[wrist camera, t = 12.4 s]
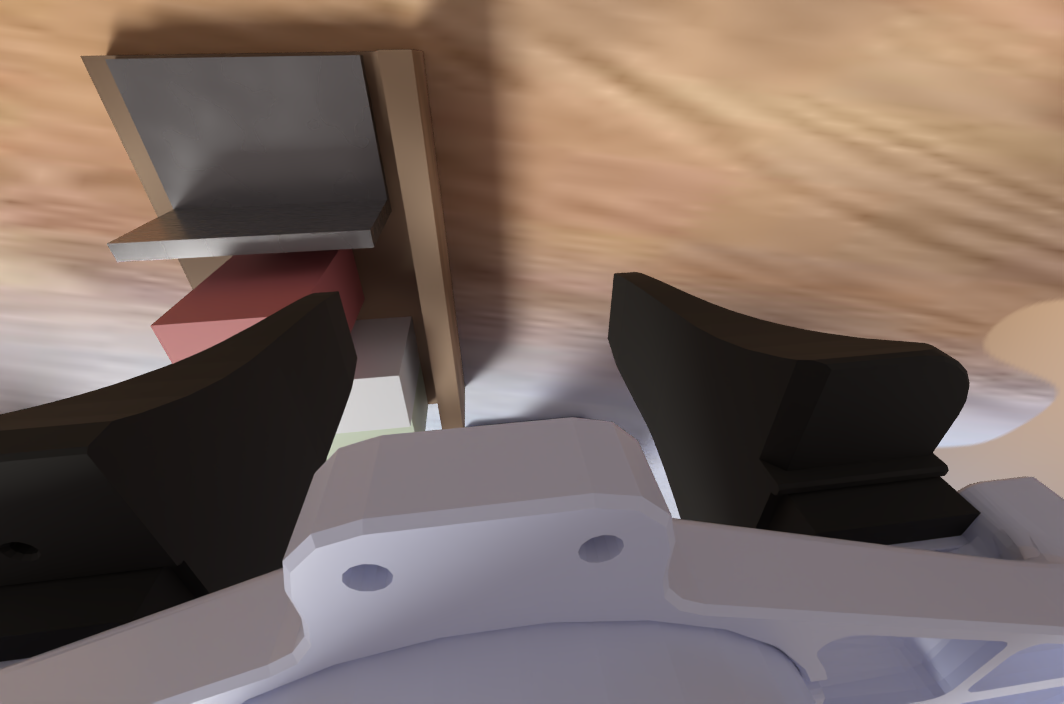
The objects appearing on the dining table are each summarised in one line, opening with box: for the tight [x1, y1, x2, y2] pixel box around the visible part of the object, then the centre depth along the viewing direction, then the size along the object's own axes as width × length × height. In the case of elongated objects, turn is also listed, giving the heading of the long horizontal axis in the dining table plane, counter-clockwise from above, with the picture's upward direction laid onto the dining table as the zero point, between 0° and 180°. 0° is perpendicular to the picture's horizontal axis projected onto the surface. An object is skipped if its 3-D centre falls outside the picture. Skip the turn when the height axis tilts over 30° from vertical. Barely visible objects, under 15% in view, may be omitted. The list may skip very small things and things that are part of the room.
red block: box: [151, 249, 365, 364], centre depth 17 cm, size 3×4×7 cm
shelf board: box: [81, 49, 465, 429], centre depth 19 cm, size 16×11×4 cm
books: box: [326, 316, 428, 461], centre depth 20 cm, size 6×8×5 cm
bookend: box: [105, 55, 392, 262], centre depth 15 cm, size 5×8×4 cm
